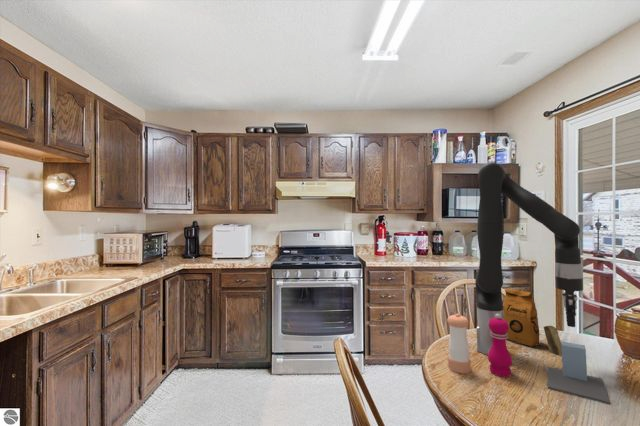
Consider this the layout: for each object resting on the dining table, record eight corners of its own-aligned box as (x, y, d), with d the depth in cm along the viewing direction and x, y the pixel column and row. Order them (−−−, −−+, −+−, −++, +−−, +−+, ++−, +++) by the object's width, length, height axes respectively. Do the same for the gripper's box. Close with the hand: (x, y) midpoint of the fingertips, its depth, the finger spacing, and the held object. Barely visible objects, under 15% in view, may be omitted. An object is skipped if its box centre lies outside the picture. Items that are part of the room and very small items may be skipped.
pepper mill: (509, 369, 105) (507, 311, 106) (515, 379, 98) (513, 317, 99) (486, 366, 108) (484, 310, 108) (490, 375, 101) (488, 315, 102)
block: (563, 375, 99) (561, 345, 99) (562, 370, 102) (561, 341, 103) (587, 381, 95) (585, 349, 96) (586, 376, 99) (584, 345, 99)
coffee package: (531, 349, 121) (529, 294, 122) (500, 339, 132) (498, 289, 133) (544, 344, 126) (542, 291, 127) (513, 335, 137) (511, 286, 138)
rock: (549, 336, 128) (532, 336, 125) (563, 324, 124) (545, 323, 121) (571, 361, 119) (552, 361, 117) (586, 348, 115) (568, 348, 112)
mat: (547, 388, 93) (547, 386, 93) (547, 368, 105) (547, 366, 105) (609, 404, 84) (609, 402, 84) (602, 380, 97) (602, 378, 97)
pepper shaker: (470, 365, 108) (468, 312, 109) (471, 375, 102) (469, 317, 102) (448, 362, 111) (446, 310, 112) (447, 370, 105) (446, 315, 105)
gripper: (554, 272, 114) (557, 317, 114) (555, 277, 103) (557, 328, 102) (580, 274, 110) (583, 321, 109) (584, 280, 98) (587, 332, 98)
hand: (570, 324), depth 106 cm, fingers open, 4 cm apart
